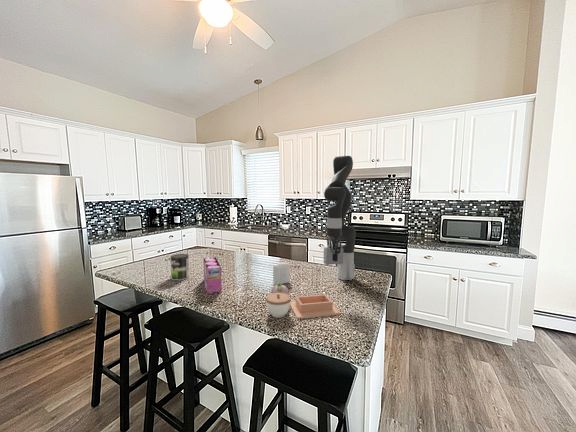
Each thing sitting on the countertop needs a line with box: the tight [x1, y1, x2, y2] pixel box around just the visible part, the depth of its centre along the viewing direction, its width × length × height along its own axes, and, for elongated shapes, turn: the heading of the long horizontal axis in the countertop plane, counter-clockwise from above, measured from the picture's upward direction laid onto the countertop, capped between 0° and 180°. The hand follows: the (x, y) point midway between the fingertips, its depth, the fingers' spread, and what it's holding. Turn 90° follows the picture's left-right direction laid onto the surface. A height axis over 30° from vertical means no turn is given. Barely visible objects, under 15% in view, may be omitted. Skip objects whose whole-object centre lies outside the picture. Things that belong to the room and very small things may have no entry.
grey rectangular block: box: [323, 247, 343, 266], centre depth 131 cm, size 9×4×8 cm, turn 103°
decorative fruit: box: [270, 283, 290, 296], centre depth 124 cm, size 9×8×10 cm
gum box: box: [203, 257, 222, 294], centre depth 148 cm, size 24×8×14 cm, turn 22°
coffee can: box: [170, 253, 190, 281], centre depth 160 cm, size 10×10×14 cm
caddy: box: [289, 294, 342, 320], centre depth 119 cm, size 16×20×4 cm
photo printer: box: [272, 262, 291, 286], centre depth 151 cm, size 10×4×12 cm, turn 123°
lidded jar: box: [265, 293, 291, 319], centre depth 113 cm, size 11×11×9 cm
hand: (333, 259), depth 131 cm, fingers closed on grey rectangular block, 4 cm apart
